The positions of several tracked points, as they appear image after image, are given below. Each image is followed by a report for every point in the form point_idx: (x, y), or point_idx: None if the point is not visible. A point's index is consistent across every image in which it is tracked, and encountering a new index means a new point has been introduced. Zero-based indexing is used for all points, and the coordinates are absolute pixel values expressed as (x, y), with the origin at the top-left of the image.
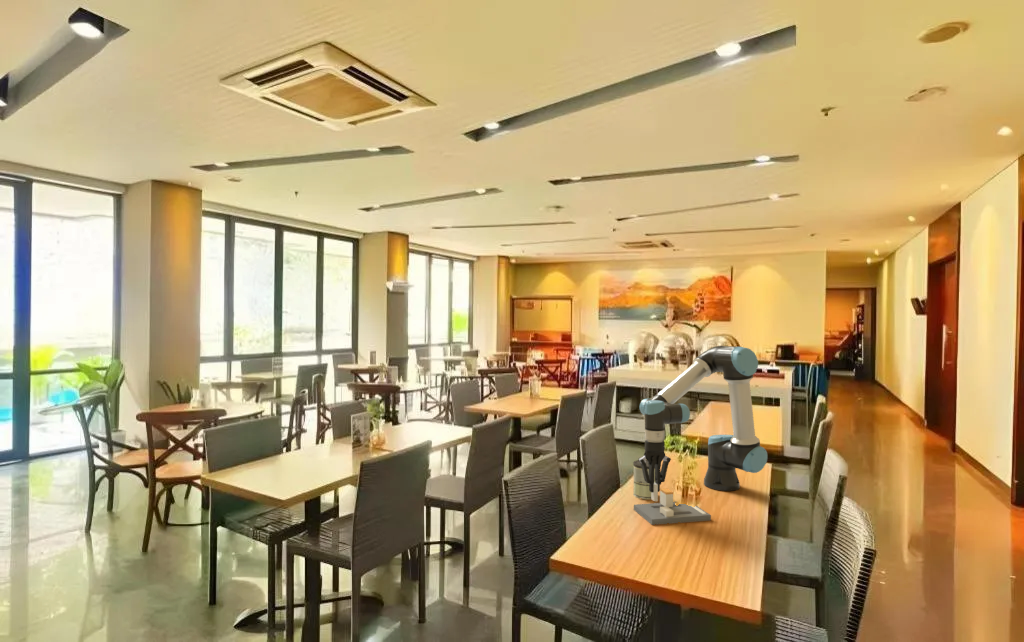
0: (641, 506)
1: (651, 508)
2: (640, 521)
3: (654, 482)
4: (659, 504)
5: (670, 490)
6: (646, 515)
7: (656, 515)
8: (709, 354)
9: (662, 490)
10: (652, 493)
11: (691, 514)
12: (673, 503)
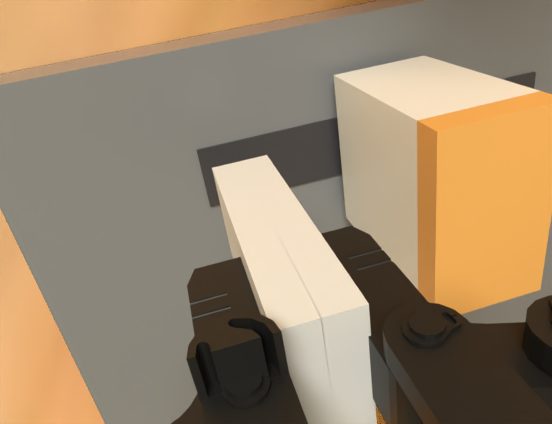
0: (63, 165)
1: (183, 222)
2: (34, 385)
3: (361, 307)
4: (319, 80)
5: (547, 225)
6: (91, 394)
7: (190, 386)
8: None
9: (432, 222)
10: (237, 254)
11: (489, 319)
12: (492, 42)
